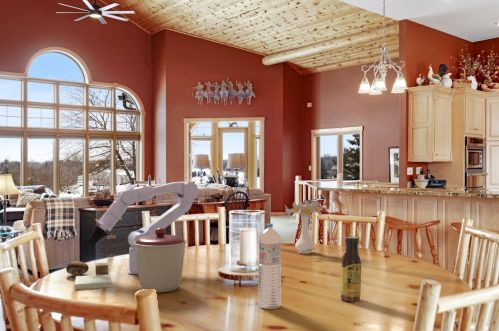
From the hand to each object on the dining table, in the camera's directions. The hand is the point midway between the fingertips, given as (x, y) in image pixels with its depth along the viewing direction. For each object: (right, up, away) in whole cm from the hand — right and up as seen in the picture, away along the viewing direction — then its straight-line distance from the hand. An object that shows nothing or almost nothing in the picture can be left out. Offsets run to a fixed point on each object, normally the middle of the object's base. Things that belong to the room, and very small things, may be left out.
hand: (89, 244), depth 183 cm
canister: (+30, -13, -17) cm, 37 cm away
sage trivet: (+5, -12, -10) cm, 17 cm away
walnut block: (+5, -12, 0) cm, 13 cm away
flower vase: (+87, -12, +49) cm, 100 cm away
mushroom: (-5, -13, +2) cm, 14 cm away
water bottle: (+67, -13, -37) cm, 77 cm away
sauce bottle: (+93, -13, -30) cm, 98 cm away
